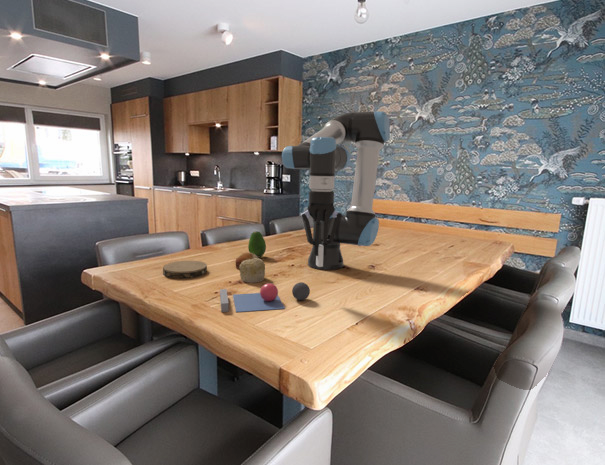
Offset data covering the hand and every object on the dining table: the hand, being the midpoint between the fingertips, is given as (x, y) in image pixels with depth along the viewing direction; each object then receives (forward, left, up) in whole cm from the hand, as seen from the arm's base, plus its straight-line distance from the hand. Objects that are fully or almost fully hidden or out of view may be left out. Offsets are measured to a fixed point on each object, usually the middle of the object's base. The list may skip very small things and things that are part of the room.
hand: (319, 265), depth 111 cm
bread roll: (+18, -39, -11) cm, 44 cm away
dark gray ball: (+6, +1, -8) cm, 10 cm away
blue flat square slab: (+19, 0, -11) cm, 22 cm away
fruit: (+12, -55, -11) cm, 57 cm away
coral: (+18, -23, -11) cm, 31 cm away
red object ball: (+16, 0, -8) cm, 18 cm away
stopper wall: (+29, 0, -11) cm, 31 cm away
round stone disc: (+42, -35, -11) cm, 56 cm away
